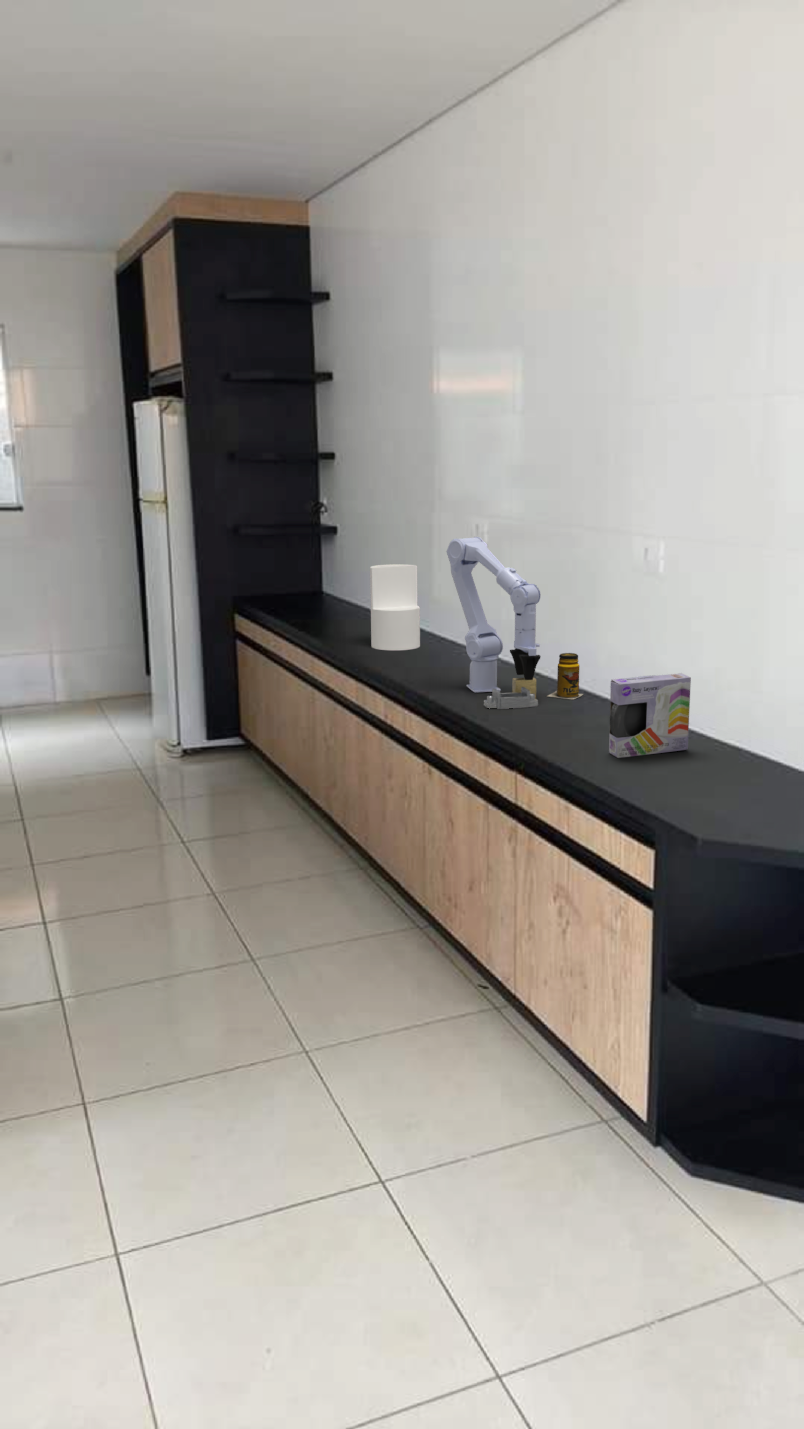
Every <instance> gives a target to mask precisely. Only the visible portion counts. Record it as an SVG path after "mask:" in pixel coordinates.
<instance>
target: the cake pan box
mask: <svg viewBox="0 0 804 1429" xmlns="http://www.w3.org/2000/svg"><path fill="white" fill-rule="evenodd" d="M691 680H692V678H691V677H690V676H689V675H687V674H685V673H682V672H679V673H671V674H668V673H667V674H661V675H660V674H659V675H658V674H657V675H655V674H653V675H642V676H641V675H640V676H635V677H622V678H612V679H611V680H610V695H609V696H610V701H609V702H610V706H609V707H610V711H609V712H610V714H609V736H608V737H609V739H608V740H609V741H608V742H609V743H608V754H610V755H611V756H613V757H615V758H618V759H620V758H631V757H637V756H646V755H647V756H648V755H653V754H661V753H662V754H664V753H670V752H677V751H678V752H679V751H685V750H688V748H689V731H690V730H689V729H690V708H691V706H690V703H691V687H692V686H691V685H692V684H691V683H692V681H691Z"/></svg>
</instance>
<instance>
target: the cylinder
mask: <svg viewBox="0 0 804 1429" xmlns="http://www.w3.org/2000/svg"><path fill="white" fill-rule="evenodd" d="M369 571H370V574H369V576H370V578H369V580H370V584H369V585H370V587H369V588H370V630H371V631H370V635H371V636H370V640H371V644H370V645H371V646H370V647H371V648H372V649H375V650H382V651H408V650H415V649H418V648H420V647H421V618H420V616H421V607H420V606H419V605H418V565H416V564H402V563H400V564H399V563H398V564H397V563H396V564H393V563H391V564H378V565H376V564H375V565H371V566H370V567H369Z"/></svg>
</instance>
